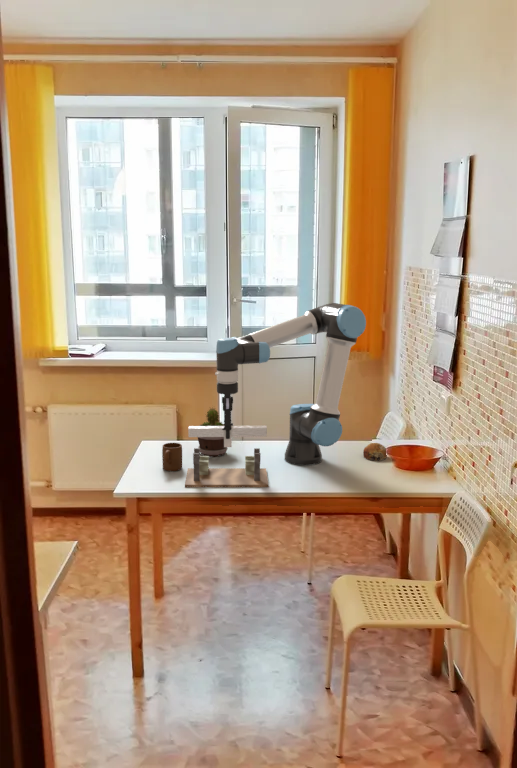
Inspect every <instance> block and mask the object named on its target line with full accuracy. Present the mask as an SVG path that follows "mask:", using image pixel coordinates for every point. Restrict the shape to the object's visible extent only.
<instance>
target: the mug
mask: <svg viewBox="0 0 517 768" xmlns="http://www.w3.org/2000/svg"><path fill="white" fill-rule="evenodd" d="M161 448H162V452H161V453H162V454H161V455H162V469H163V470H164V471H166V472H177V471H180V470H181V469H183V445H182V444H181V443H179V442H167V443H164V444H162V447H161Z"/></svg>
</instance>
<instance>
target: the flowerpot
mask: <svg viewBox="0 0 517 768" xmlns="http://www.w3.org/2000/svg"><path fill="white" fill-rule="evenodd" d="M204 414H205V413H204ZM205 415H206V416H205V417H206V421H204V422H202V423H201V424H199V425H198V426H224V423H223V421H221V420H220V412H219V410H217V409H216V408H215V406H213V407H209V409H208V410H207V411H206V414H205ZM197 441H198V446H197V448H200V456H209V458H217V457H222V456H224V455H225V454H226V452H227V451H228V448H229V447H224V437H197Z"/></svg>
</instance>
